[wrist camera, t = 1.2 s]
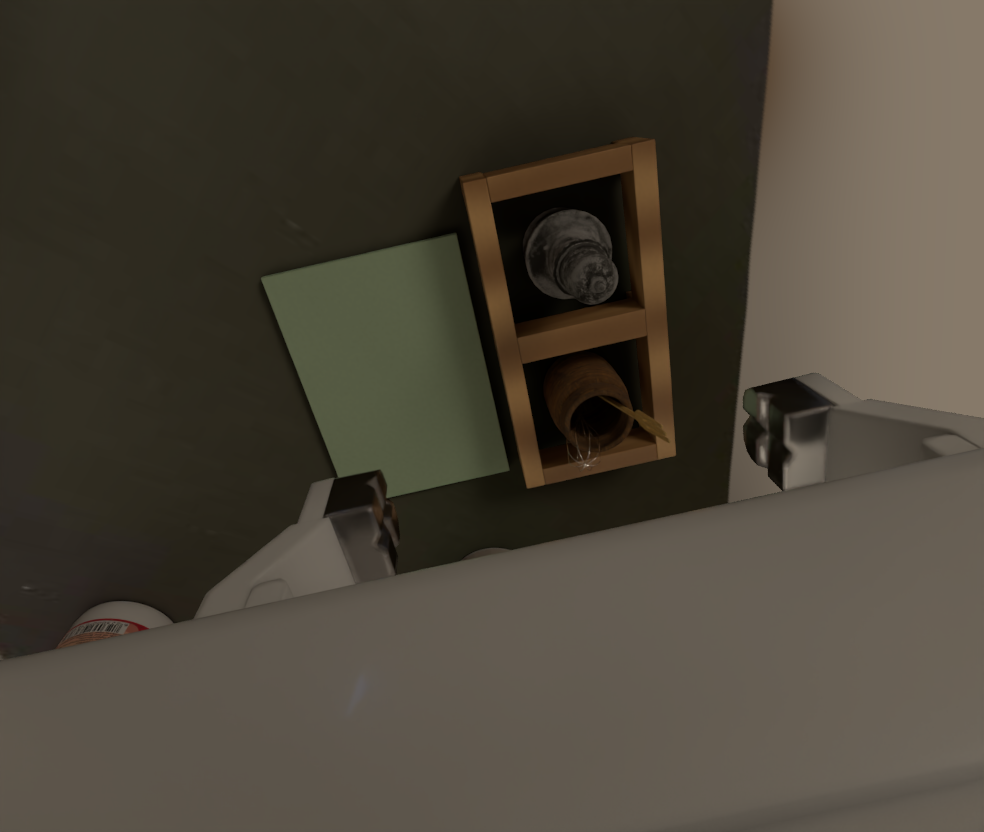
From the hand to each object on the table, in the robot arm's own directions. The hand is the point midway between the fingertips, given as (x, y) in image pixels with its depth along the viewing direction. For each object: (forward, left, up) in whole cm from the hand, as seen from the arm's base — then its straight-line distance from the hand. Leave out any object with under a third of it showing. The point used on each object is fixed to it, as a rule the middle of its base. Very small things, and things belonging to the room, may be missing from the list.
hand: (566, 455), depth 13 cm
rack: (+8, +6, -32) cm, 33 cm away
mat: (+10, -8, -32) cm, 34 cm away
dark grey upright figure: (+3, +6, -32) cm, 32 cm away
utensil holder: (+14, +6, -32) cm, 35 cm away
